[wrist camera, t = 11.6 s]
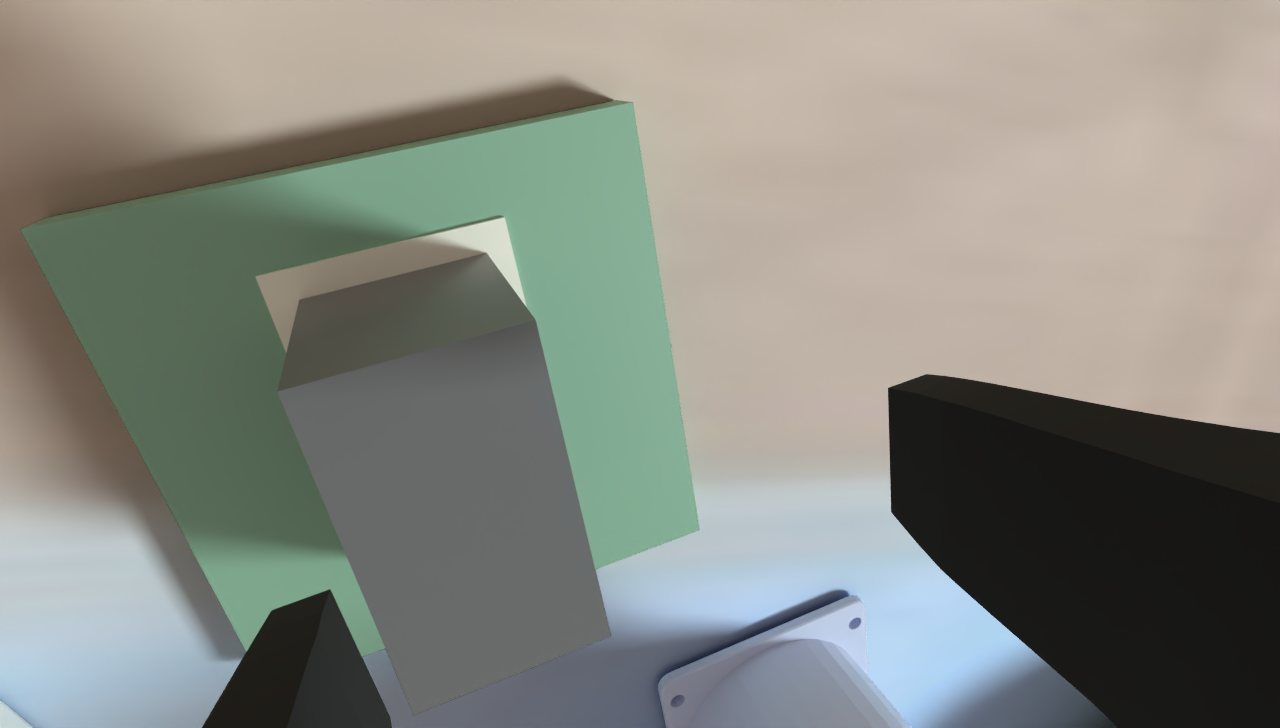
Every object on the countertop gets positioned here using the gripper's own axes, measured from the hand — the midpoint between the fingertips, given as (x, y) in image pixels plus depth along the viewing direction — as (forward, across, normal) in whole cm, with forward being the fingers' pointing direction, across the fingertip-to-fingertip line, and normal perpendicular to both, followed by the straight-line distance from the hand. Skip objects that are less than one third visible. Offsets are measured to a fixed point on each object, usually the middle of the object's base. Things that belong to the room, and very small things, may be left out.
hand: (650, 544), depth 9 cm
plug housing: (+9, +2, +2) cm, 10 cm away
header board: (+10, +2, +2) cm, 11 cm away
